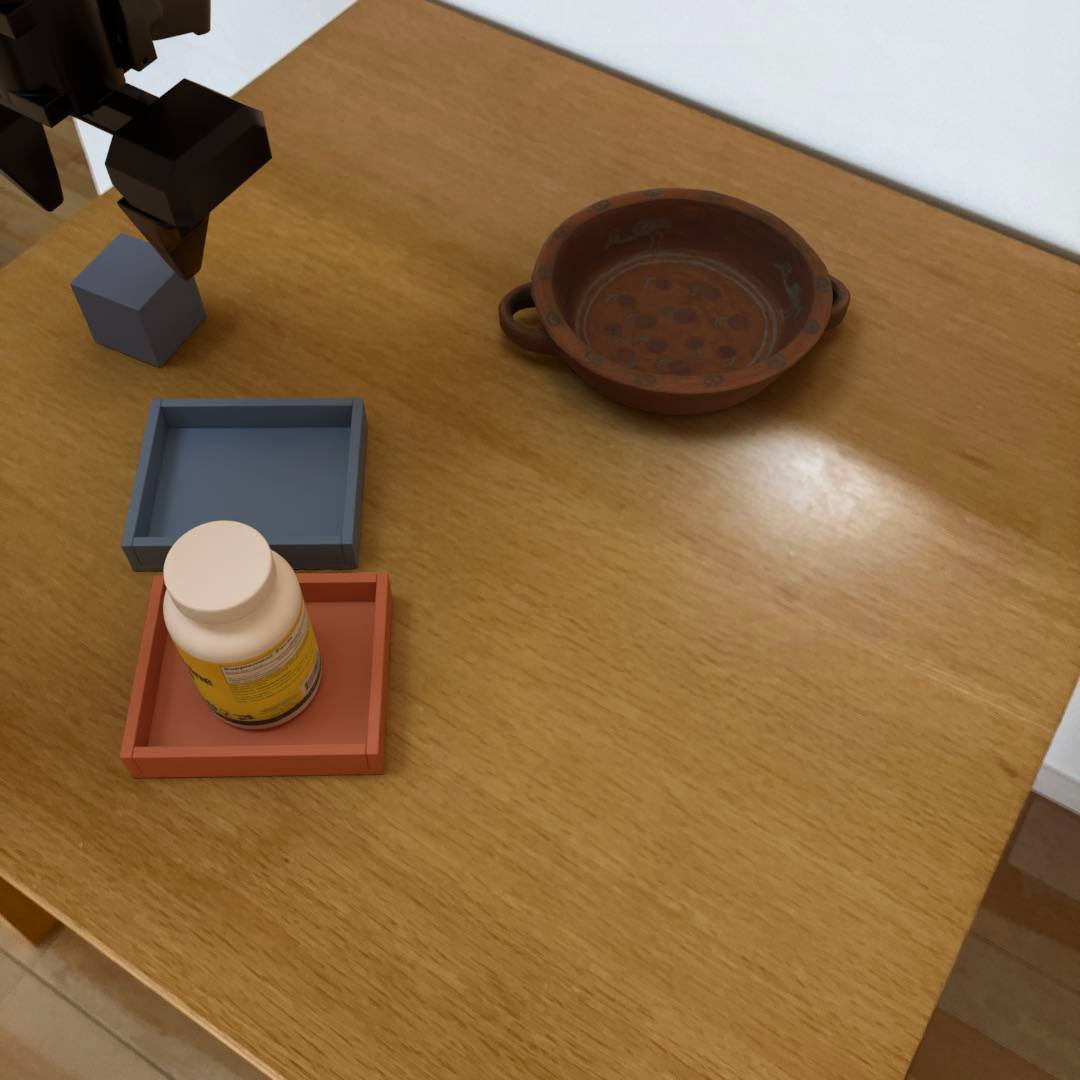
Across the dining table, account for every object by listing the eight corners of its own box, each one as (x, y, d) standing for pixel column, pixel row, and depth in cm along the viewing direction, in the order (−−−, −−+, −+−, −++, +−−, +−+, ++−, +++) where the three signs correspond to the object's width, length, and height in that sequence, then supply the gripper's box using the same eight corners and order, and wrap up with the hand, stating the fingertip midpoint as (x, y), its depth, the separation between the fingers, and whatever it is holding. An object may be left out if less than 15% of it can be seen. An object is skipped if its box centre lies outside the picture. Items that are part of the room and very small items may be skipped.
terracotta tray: (133, 778, 57) (118, 758, 55) (165, 599, 62) (153, 574, 60) (383, 774, 57) (378, 754, 55) (392, 596, 63) (388, 572, 61)
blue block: (160, 368, 72) (138, 310, 67) (94, 341, 73) (68, 283, 68) (207, 316, 74) (189, 257, 70) (142, 291, 75) (120, 231, 71)
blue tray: (133, 571, 63) (120, 546, 61) (162, 426, 69) (151, 398, 67) (357, 568, 64) (352, 543, 62) (367, 424, 69) (363, 397, 67)
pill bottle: (189, 648, 60) (130, 528, 51) (305, 610, 62) (268, 487, 52) (217, 752, 57) (160, 644, 48) (338, 709, 58) (306, 597, 49)
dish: (878, 430, 70) (901, 375, 66) (514, 460, 68) (515, 405, 64) (807, 233, 80) (823, 173, 75) (486, 254, 78) (485, 194, 73)
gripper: (322, -87, 47) (366, 215, 60) (-11, -210, 52) (96, 92, 65) (131, 55, 41) (225, 352, 55) (-218, -98, 47) (-56, 207, 60)
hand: (121, 239), depth 59 cm, fingers open, 9 cm apart
